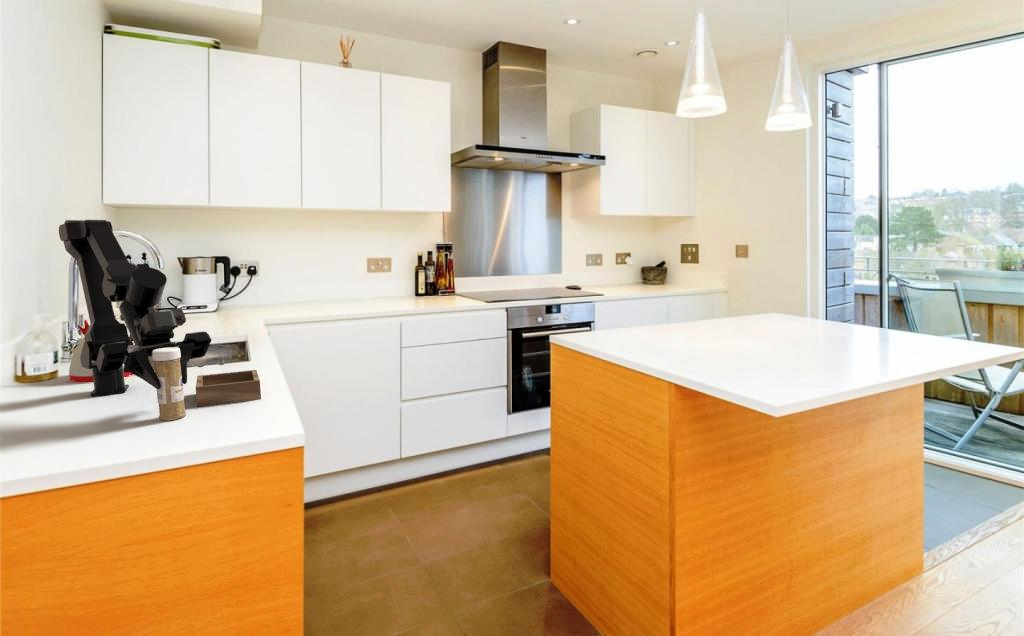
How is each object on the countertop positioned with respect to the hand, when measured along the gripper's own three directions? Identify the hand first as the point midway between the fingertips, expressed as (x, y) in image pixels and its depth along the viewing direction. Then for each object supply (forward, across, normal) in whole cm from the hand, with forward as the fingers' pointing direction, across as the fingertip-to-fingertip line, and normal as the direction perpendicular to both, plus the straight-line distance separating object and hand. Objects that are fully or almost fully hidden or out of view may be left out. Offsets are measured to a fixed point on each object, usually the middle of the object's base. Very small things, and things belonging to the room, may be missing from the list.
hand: (172, 385), depth 108 cm
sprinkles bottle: (+4, 0, +6) cm, 7 cm away
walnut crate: (-1, +14, +10) cm, 17 cm away
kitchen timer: (-34, +5, +43) cm, 55 cm away
